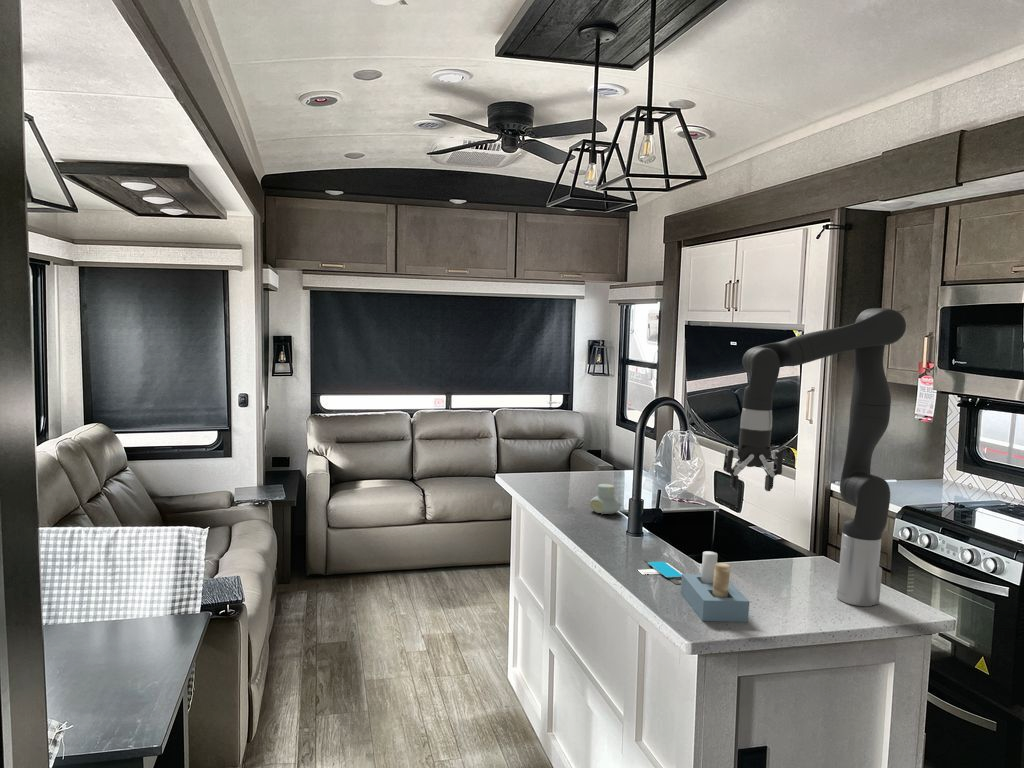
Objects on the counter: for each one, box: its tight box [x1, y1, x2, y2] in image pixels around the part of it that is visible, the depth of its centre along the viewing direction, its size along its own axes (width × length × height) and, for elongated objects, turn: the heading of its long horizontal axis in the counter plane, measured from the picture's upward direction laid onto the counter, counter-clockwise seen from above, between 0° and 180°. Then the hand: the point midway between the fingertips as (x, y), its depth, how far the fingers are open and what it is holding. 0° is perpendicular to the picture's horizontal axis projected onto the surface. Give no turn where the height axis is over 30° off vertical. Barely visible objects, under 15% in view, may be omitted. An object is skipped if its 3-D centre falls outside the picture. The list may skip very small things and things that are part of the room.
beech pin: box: [712, 562, 731, 598], centre depth 182 cm, size 4×4×11 cm
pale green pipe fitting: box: [589, 483, 621, 515], centre depth 272 cm, size 11×8×10 cm
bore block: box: [680, 550, 751, 623], centre depth 186 cm, size 11×18×12 cm, turn 4°
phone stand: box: [637, 558, 686, 585], centre depth 211 cm, size 20×12×2 cm, turn 16°
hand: (750, 490), depth 191 cm, fingers open, 8 cm apart
